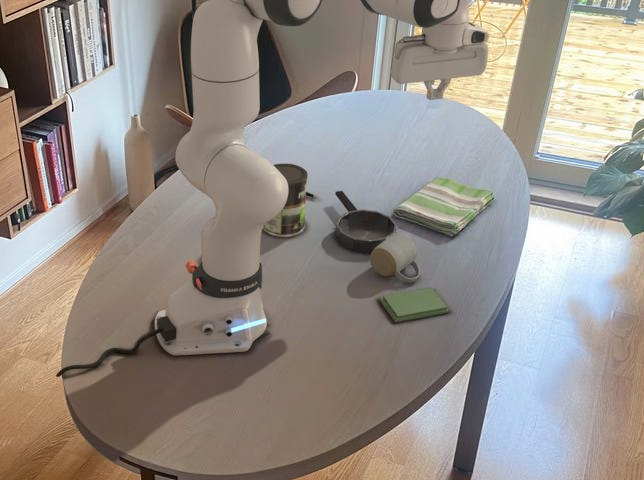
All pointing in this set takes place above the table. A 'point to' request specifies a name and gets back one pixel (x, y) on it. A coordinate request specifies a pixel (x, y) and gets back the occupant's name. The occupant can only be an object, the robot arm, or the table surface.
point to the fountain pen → (310, 195)
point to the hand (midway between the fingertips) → (434, 98)
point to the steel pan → (362, 227)
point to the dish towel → (444, 205)
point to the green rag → (413, 305)
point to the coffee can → (290, 203)
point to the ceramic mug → (395, 257)
